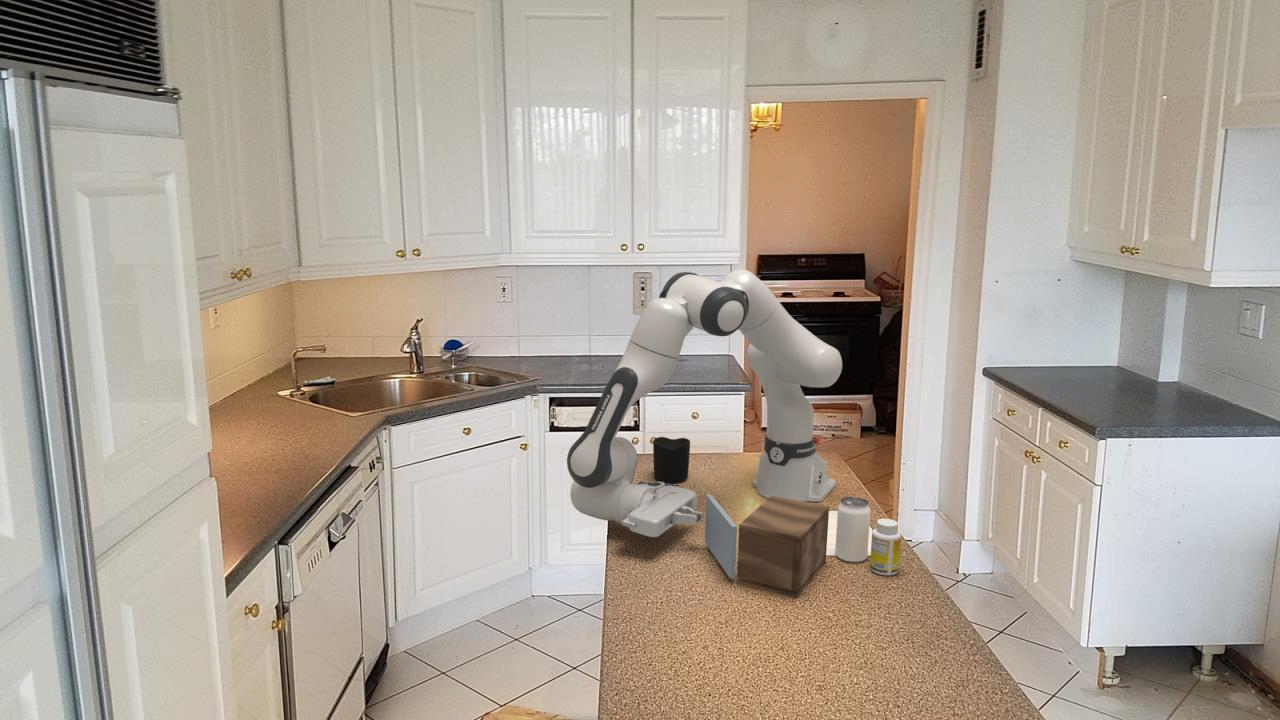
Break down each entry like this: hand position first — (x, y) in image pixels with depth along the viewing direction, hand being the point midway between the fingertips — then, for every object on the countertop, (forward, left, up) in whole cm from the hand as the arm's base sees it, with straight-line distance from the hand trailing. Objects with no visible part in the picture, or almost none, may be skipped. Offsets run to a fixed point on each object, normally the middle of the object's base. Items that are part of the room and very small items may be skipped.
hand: (699, 518), depth 187 cm
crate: (-2, +19, -7) cm, 20 cm away
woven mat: (-21, -27, -8) cm, 35 cm away
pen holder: (-33, -31, -7) cm, 46 cm away
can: (-18, +26, -7) cm, 32 cm away
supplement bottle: (-16, +34, -7) cm, 38 cm away
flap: (+3, +7, -6) cm, 10 cm away
